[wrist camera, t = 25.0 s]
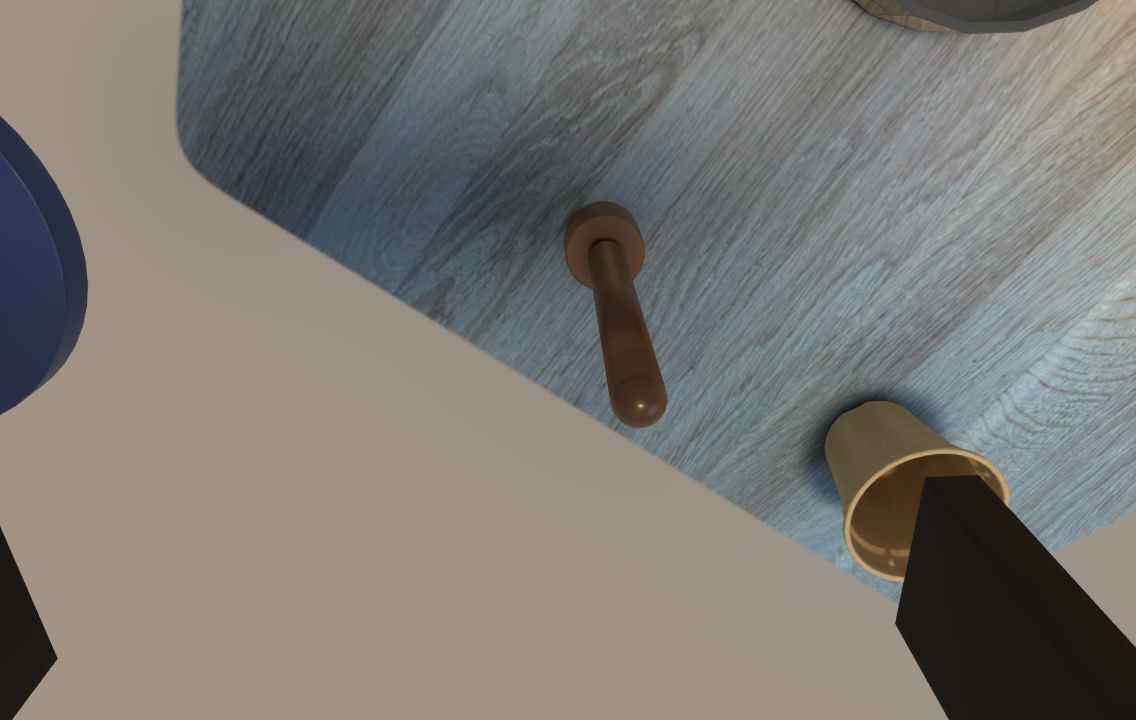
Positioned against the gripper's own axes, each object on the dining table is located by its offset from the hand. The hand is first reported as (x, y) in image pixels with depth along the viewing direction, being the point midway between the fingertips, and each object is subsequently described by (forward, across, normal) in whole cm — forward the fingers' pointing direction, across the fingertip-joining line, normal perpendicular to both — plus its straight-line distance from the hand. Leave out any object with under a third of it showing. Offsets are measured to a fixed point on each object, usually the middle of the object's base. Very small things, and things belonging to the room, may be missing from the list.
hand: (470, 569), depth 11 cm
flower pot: (+35, +22, -20) cm, 46 cm away
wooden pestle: (+35, +4, -5) cm, 35 cm away
